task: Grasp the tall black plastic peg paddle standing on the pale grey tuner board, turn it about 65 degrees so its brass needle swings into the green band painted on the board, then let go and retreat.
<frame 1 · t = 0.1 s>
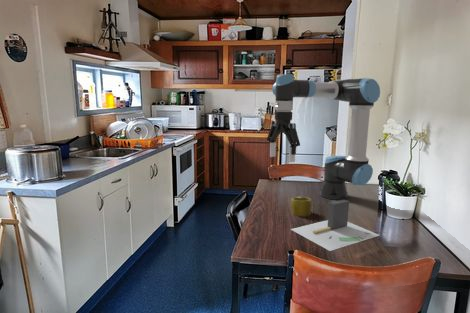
hand: (281, 159, 144), 28 cm above the table, fingers open, 13 cm apart
tuner board: (334, 234, 133), on the table
mug: (300, 214, 156), on the table
peg dial: (330, 216, 135), point 7 cm above the table, hinge at 0.0°
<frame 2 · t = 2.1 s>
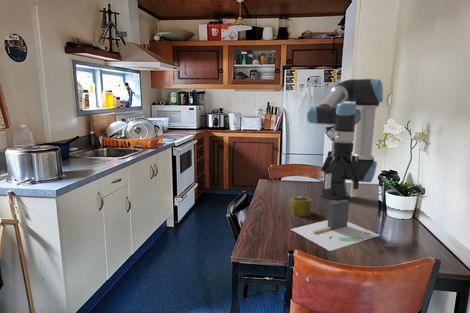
hand: (339, 192, 135), 17 cm above the table, fingers open, 13 cm apart
nothing on the table moved.
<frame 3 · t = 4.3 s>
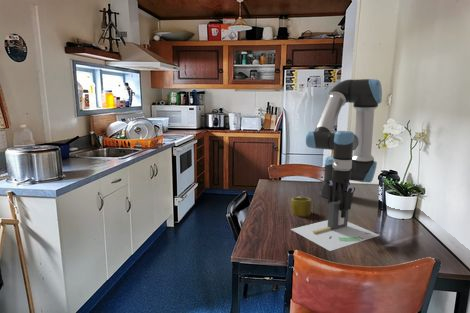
hand: (337, 222, 138), 3 cm above the table, fingers closed on peg dial, 3 cm apart
peg dial: (330, 216, 135), point 7 cm above the table, hinge at 0.0°, touching gripper
everything else where it was.
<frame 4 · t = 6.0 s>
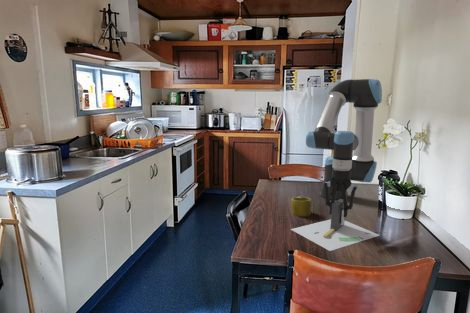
hand: (337, 222, 138), 3 cm above the table, fingers closed on peg dial, 3 cm apart
peg dial: (334, 217, 134), point 7 cm above the table, hinge at 21.8°, touching gripper
everything else where it was.
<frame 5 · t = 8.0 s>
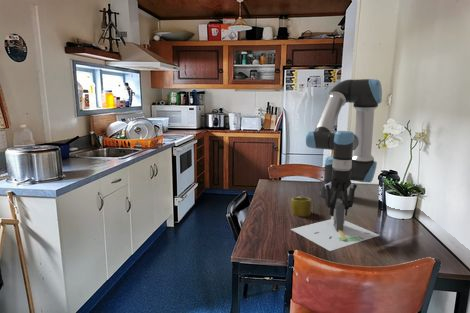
hand: (337, 222, 138), 3 cm above the table, fingers closed on peg dial, 3 cm apart
peg dial: (340, 218, 133), point 7 cm above the table, hinge at 53.7°, touching gripper
everything else where it was.
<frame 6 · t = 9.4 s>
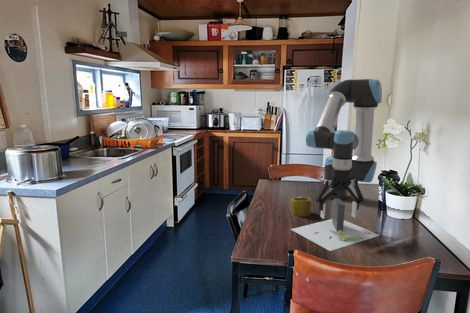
hand: (338, 217, 137), 5 cm above the table, fingers open, 13 cm apart
peg dial: (340, 218, 133), point 7 cm above the table, hinge at 54.3°
everything else where it was.
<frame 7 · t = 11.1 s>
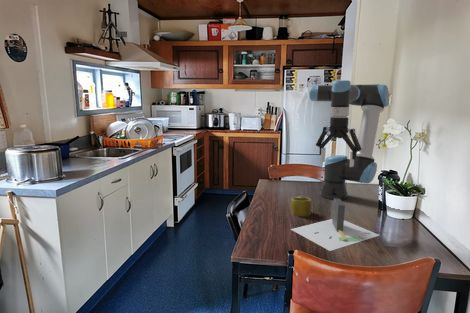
hand: (336, 164, 146), 26 cm above the table, fingers open, 13 cm apart
nothing on the table moved.
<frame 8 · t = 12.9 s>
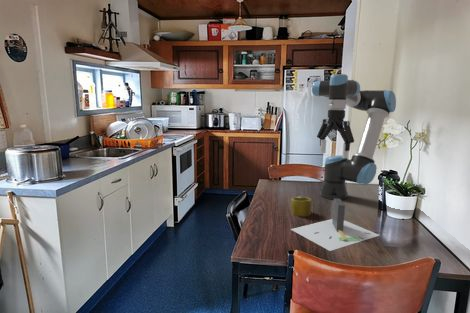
hand: (333, 155, 151), 29 cm above the table, fingers open, 13 cm apart
nothing on the table moved.
at the end: peg dial at +54° (first picture: +0°); the gripper is holding nothing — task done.
